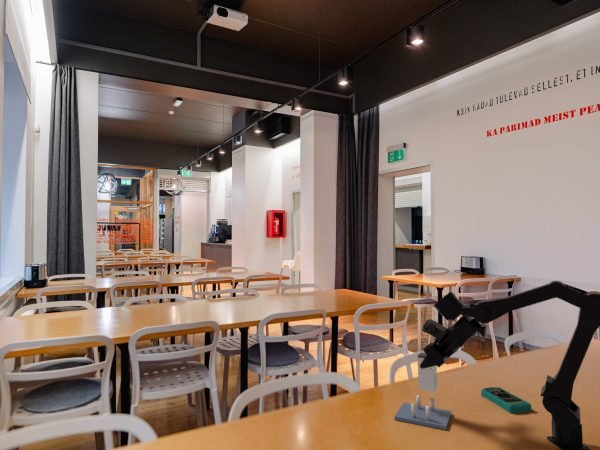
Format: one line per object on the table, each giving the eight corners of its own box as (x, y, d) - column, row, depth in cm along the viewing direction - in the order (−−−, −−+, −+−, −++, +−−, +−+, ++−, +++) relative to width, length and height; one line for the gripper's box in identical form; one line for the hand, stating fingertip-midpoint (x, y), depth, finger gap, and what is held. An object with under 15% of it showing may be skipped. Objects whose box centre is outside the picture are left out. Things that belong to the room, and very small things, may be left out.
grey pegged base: (451, 414, 117) (451, 398, 117) (445, 430, 107) (445, 413, 107) (403, 405, 123) (403, 390, 123) (394, 419, 114) (394, 403, 114)
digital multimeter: (499, 394, 132) (499, 385, 132) (532, 413, 118) (532, 403, 118) (479, 396, 131) (479, 387, 131) (511, 415, 116) (510, 405, 117)
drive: (437, 388, 119) (436, 354, 119) (433, 392, 116) (432, 357, 116) (422, 385, 121) (421, 352, 122) (418, 389, 118) (417, 355, 119)
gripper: (447, 307, 125) (413, 337, 131) (429, 316, 109) (392, 351, 115) (474, 335, 120) (438, 366, 126) (460, 349, 105) (420, 383, 110)
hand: (422, 365), depth 119 cm, fingers closed on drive, 3 cm apart
